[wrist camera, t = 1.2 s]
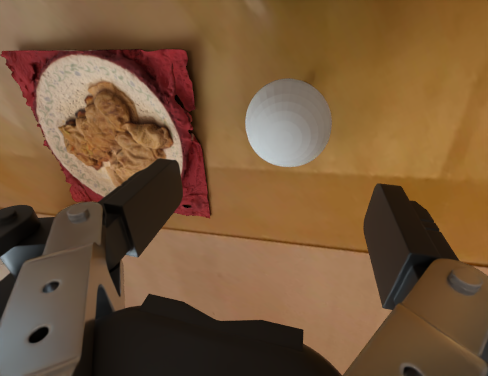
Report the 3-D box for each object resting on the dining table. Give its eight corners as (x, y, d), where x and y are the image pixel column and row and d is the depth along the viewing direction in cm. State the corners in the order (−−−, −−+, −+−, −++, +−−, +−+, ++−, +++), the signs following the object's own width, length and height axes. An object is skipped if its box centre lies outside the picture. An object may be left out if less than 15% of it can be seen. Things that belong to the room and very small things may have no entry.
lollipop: (334, 103, 27) (350, 162, 15) (286, 127, 30) (266, 195, 18) (310, 48, 25) (306, 64, 13) (260, 79, 28) (217, 118, 16)
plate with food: (14, 49, 33) (-14, 51, 31) (190, 48, 27) (175, 51, 25) (80, 196, 46) (65, 207, 43) (210, 217, 40) (202, 231, 38)
